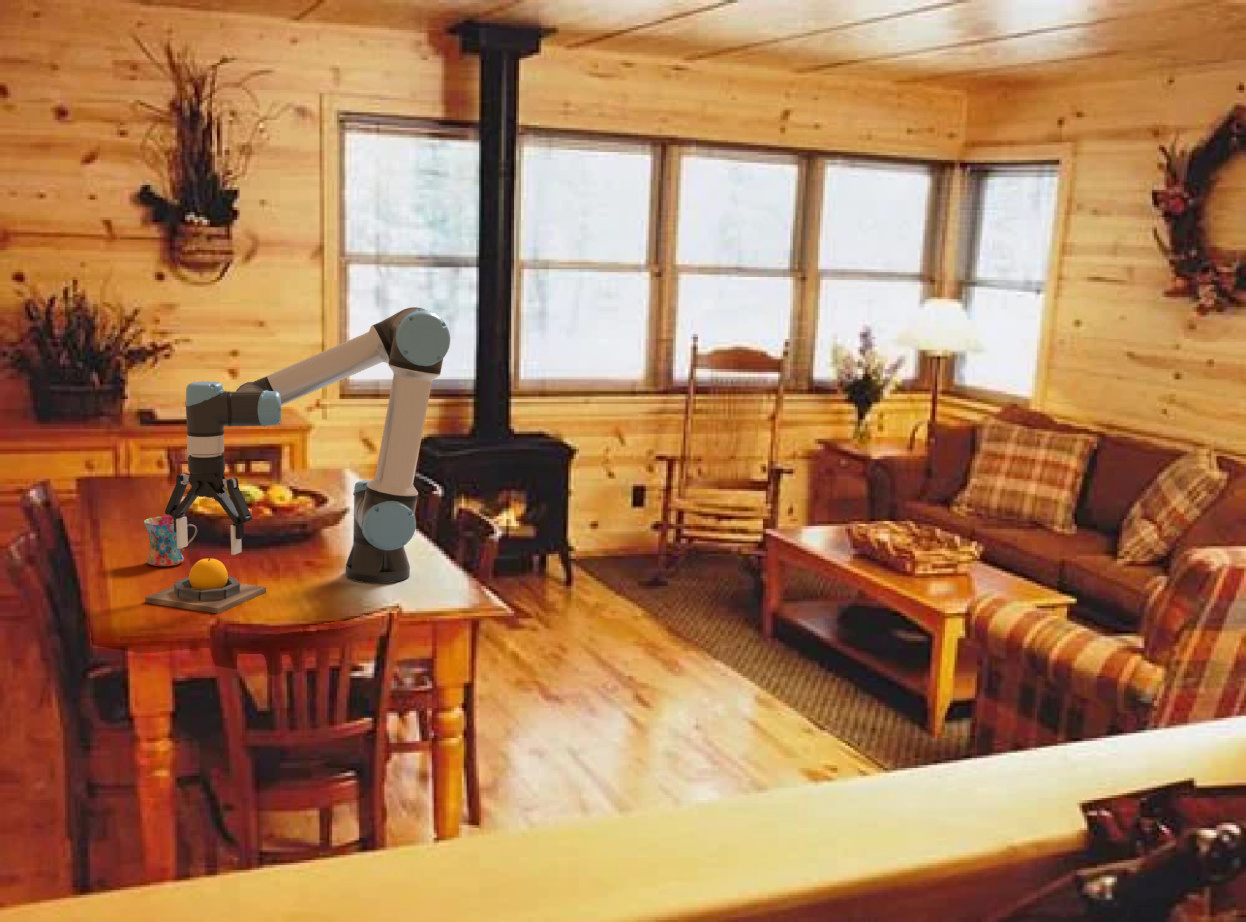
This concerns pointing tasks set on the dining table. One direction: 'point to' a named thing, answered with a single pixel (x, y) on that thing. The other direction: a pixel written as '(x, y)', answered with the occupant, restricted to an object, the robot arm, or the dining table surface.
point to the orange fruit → (208, 575)
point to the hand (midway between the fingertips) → (209, 550)
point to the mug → (164, 542)
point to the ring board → (206, 605)
